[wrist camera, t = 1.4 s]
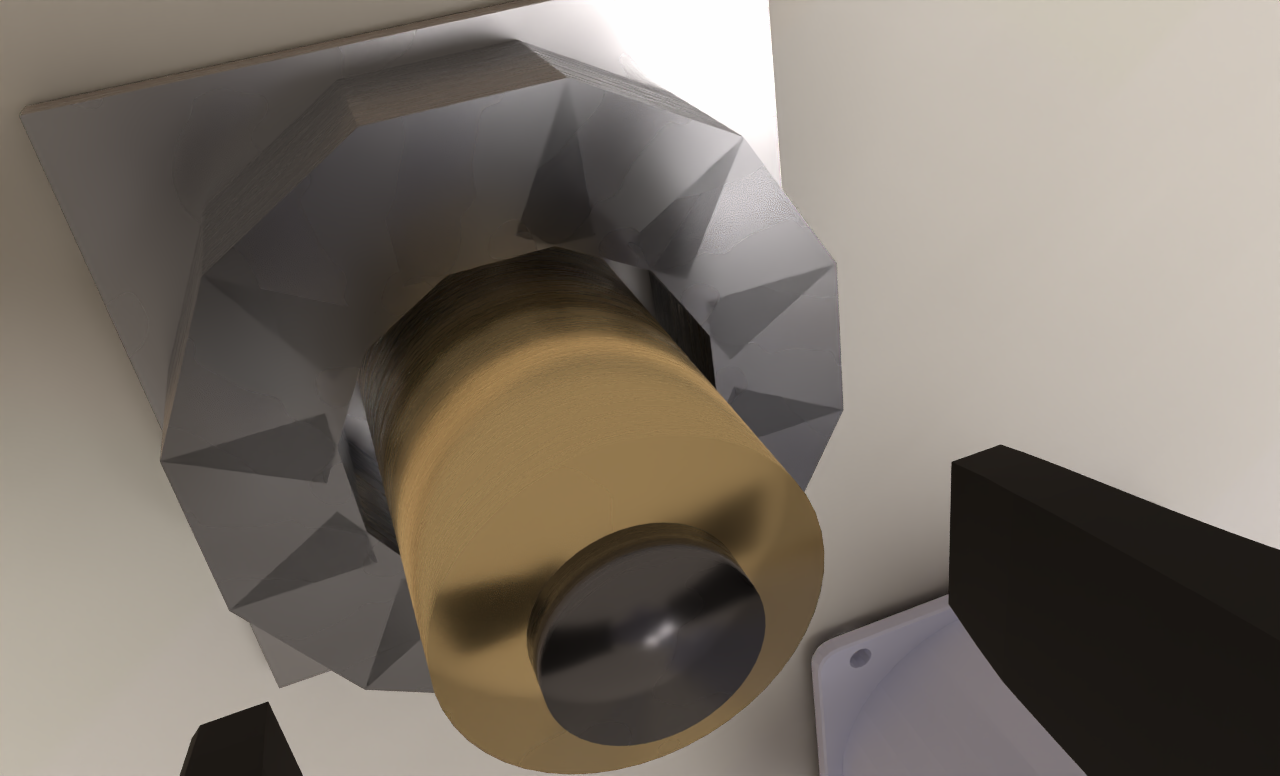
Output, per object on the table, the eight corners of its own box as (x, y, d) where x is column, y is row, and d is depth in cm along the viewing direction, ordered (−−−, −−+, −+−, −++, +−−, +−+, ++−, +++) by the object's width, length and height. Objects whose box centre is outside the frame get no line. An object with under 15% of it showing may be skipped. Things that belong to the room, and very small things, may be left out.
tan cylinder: (610, 187, 16) (843, 410, 10) (649, 428, 18) (857, 725, 12) (317, 264, 15) (384, 560, 9) (398, 508, 17) (493, 872, 11)
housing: (750, -50, 15) (852, -23, 13) (793, 492, 21) (872, 585, 18) (25, 106, 13) (-20, 174, 11) (277, 668, 18) (287, 802, 16)
